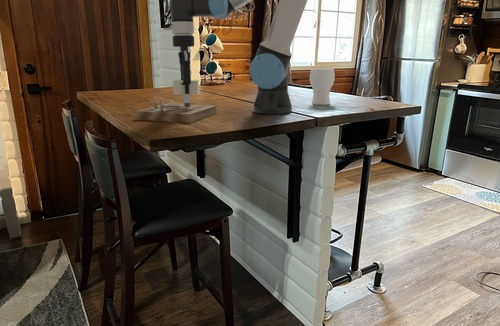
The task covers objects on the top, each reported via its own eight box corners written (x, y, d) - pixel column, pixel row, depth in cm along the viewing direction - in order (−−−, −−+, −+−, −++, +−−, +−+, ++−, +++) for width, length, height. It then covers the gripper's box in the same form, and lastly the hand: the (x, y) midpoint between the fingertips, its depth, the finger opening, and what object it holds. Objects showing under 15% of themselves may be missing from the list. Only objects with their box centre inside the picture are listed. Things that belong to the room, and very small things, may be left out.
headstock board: (216, 113, 148) (215, 95, 146) (190, 123, 130) (189, 102, 128) (167, 110, 155) (166, 93, 153) (136, 119, 137) (134, 99, 135)
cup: (333, 105, 163) (335, 69, 159) (308, 105, 165) (309, 69, 161) (333, 102, 173) (335, 68, 169) (309, 101, 175) (310, 68, 171)
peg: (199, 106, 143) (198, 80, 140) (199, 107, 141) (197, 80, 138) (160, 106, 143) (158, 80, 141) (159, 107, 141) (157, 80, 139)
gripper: (170, 35, 141) (175, 99, 148) (174, 34, 126) (178, 105, 133) (191, 35, 143) (194, 98, 150) (196, 34, 128) (200, 104, 135)
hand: (186, 101), depth 142 cm, fingers closed on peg, 3 cm apart
